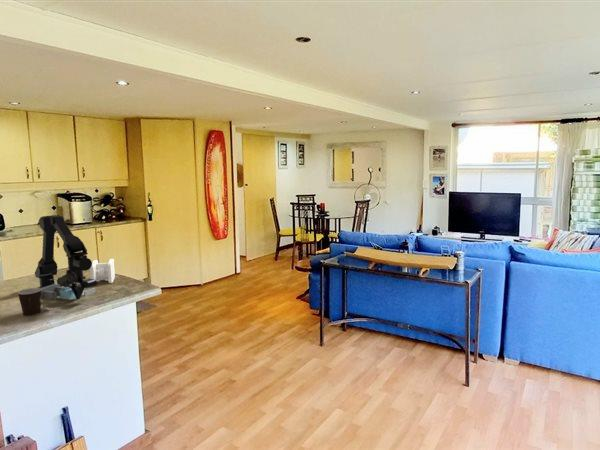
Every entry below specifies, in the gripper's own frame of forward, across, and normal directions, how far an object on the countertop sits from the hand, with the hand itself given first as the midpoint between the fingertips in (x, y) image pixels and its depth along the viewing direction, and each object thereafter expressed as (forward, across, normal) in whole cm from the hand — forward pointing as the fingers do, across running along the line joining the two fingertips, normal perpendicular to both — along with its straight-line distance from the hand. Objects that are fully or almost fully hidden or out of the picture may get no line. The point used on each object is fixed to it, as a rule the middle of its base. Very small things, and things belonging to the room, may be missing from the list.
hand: (78, 299), depth 197 cm
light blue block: (+1, -6, 0) cm, 6 cm away
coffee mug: (+1, -5, -20) cm, 21 cm away
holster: (+1, -5, +8) cm, 10 cm away
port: (+1, -14, 0) cm, 14 cm away
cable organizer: (+1, -12, +27) cm, 30 cm away
